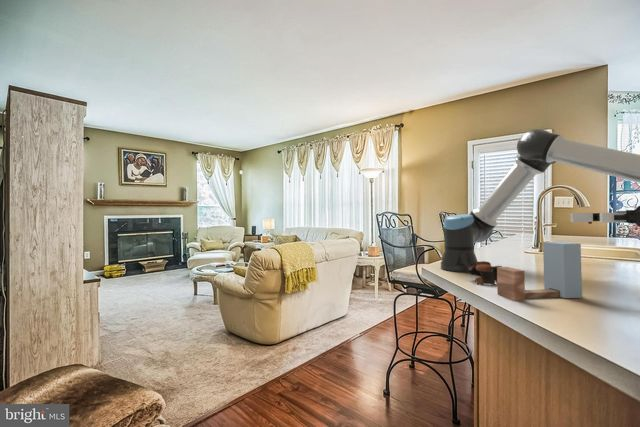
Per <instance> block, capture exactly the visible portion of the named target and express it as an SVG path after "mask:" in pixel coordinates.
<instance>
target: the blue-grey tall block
mask: <svg viewBox="0 0 640 427" xmlns="http://www.w3.org/2000/svg"><path fill="white" fill-rule="evenodd" d="M542 246H543V249H542V252H543V253H542V254H543V255H542V256H543V289H555V290H558V291H560V297H559V298H562V299H577V298H578V299H580V298H583V282H582V281H583V280H582V279H583V278H582V276H583V275H582V248H581V247H582V245H581V243H580V242H579V243H578V242H577V243H576V242H569V241H568V242H566V241H543V242H542Z"/></svg>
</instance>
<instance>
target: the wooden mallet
mask: <svg viewBox="0 0 640 427" xmlns="http://www.w3.org/2000/svg"><path fill="white" fill-rule="evenodd" d="M525 279H526V278H525V270H522V269H518V268H513V267H509V266H502V267H497V282H496V284H497V295H498V296H500V297H503V298H506V299H509V300H511V301H514V302H523V301H526V299H541V298H542V299H543V298H544V299H545V298H561V297H560V291H558V290H555V289H544V288H542V289H526V288H525V287H526V284H525V281H526V280H525Z"/></svg>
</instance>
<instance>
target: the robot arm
mask: <svg viewBox="0 0 640 427" xmlns="http://www.w3.org/2000/svg"><path fill="white" fill-rule="evenodd" d="M516 150H517V154H516V156H515V158H514V159H515V163H514V165H513V166H512V167H511V168H510V170H509V171H508V172H507V173H506V175H505V176H504V177H503V178H502V179H501V181H500V182H499V183H498V184H497V185H496V187H495V188H494V189H493V190H492V191H491V193H490V194H489V195H488V197H487V198H486V199H484V201H483V202H482V203H481V204H480V206H479V207H478V208H473V209H472V210H471V211H470V213H469V214H467V213H466V214H454V215H453V214H451V215H447V216H446V217H445V218H444V220H443V240H444V242H443V244H444V251H443V255H442V258H441V262H440V269H442V270H444V271H450V272H461V273H462V272H463V273H467V271H468V269H469V268H468V265H469V264H471V263H474V262H479V261H478V259H477V256H476V253H475V244H477V243H483V242H485V241H487V240H488V239H490V237H491V236H492V235H493V232H494V229H495V227H496V226H497V225H498V222H497V220H498V218H499V217H501V215H502V214H503V213H504V212H505V211H506V210H507V208H509V206H510V205H511V204H512V202H514V201H515V199H516V198H517V197H518V195H519V194H521V192H522V191H523V190H524V189H525V188H526V186H528V185H529V183H530V182H531V181H532V180H533V179H534V177H536V176H537V175H540V174H544V173H545V171H546V170H547V169H549V167H550V166H551V165H553V164H555V163H560V164H563V165H568V166H572V167H576V168H580V169H582V170H583V169H584V170H588V171H592V172H596V173H600V174H604V175H608V176H612V177H616V178H619V179H623V180H628V181H631V182H636V183H639V184H640V154H637V153H634V152H633V153H632V152H628V151H624V150H623V151H622V150H618V149H613V148H609V147H603V146H599V145H595V144H594V145H593V144H589V143H585V142H580V141H574V140H570V139H566V138H565V137H564V135H561V134H557V133H553V132H550V131H547V130H546V129H541V128H537V129H531V130H528V131H526V132H524V134H522V135H521V136H520V138H519V139H518V141H517V144H516ZM569 216H570V217H569V218H570V223H588V225H590V224H593V222H599V223H601V224H602V223H603V224H604V223H605V224H608V223H619V224H620V223H622V224H623V223H627V224H635V225H637V227H639V228H640V205H638V206H637V207H636V208H635V209H626V210H618V211H615V212H594V213H593V212H575V213H574V212H570V214H569ZM474 268H476V266H475V267H474Z"/></svg>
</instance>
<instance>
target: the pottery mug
mask: <svg viewBox="0 0 640 427" xmlns="http://www.w3.org/2000/svg"><path fill="white" fill-rule="evenodd" d="M475 266H476V268H474V267H475ZM497 267H503V266H502V265H496V266H492V263H491V262H489V261H483V260H482V261H478V262H474V263H471V264H469V265H468V268H469V269H468V271H467V272H466V274H469V275H472V276H477V277H475V281H476V284H477V285H483V284H484V285H485V284H486V285H496V283H497Z"/></svg>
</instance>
